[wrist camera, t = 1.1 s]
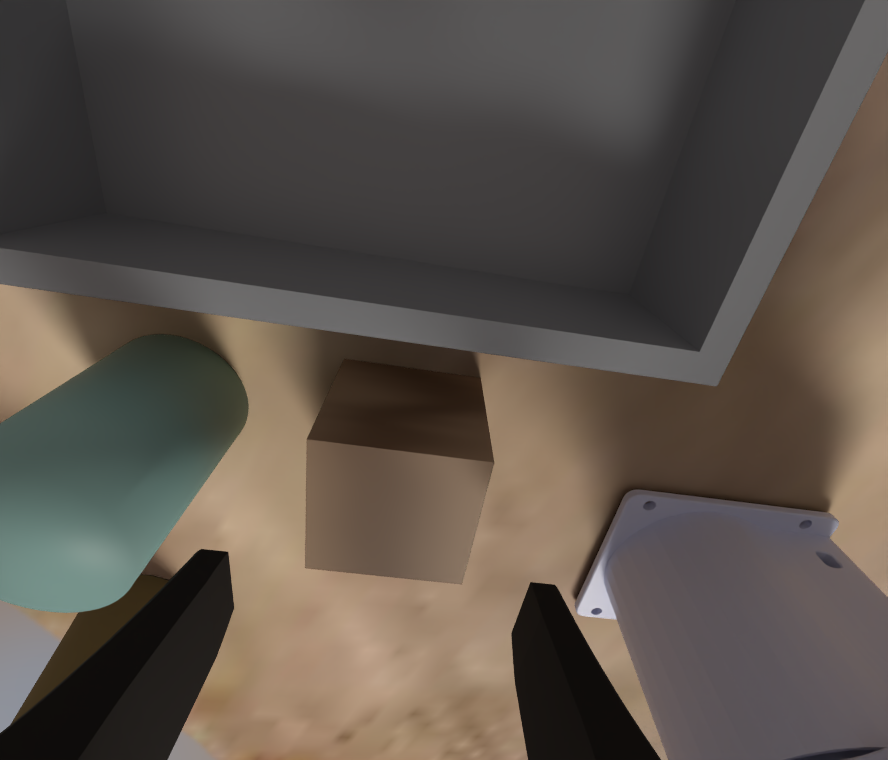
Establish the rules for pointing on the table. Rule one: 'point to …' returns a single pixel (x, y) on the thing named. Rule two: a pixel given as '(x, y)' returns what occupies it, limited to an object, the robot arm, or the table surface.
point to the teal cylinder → (110, 470)
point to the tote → (431, 163)
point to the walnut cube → (397, 473)
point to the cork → (90, 636)
